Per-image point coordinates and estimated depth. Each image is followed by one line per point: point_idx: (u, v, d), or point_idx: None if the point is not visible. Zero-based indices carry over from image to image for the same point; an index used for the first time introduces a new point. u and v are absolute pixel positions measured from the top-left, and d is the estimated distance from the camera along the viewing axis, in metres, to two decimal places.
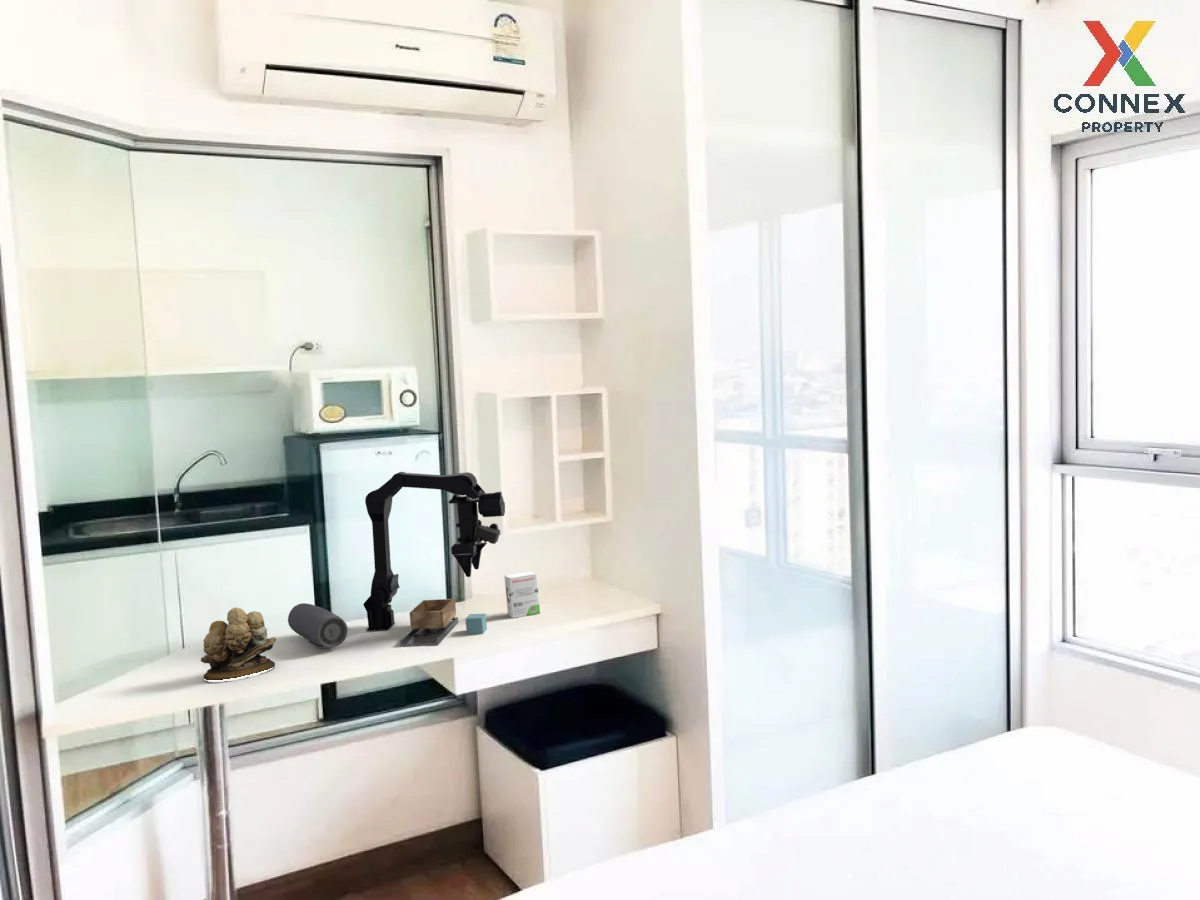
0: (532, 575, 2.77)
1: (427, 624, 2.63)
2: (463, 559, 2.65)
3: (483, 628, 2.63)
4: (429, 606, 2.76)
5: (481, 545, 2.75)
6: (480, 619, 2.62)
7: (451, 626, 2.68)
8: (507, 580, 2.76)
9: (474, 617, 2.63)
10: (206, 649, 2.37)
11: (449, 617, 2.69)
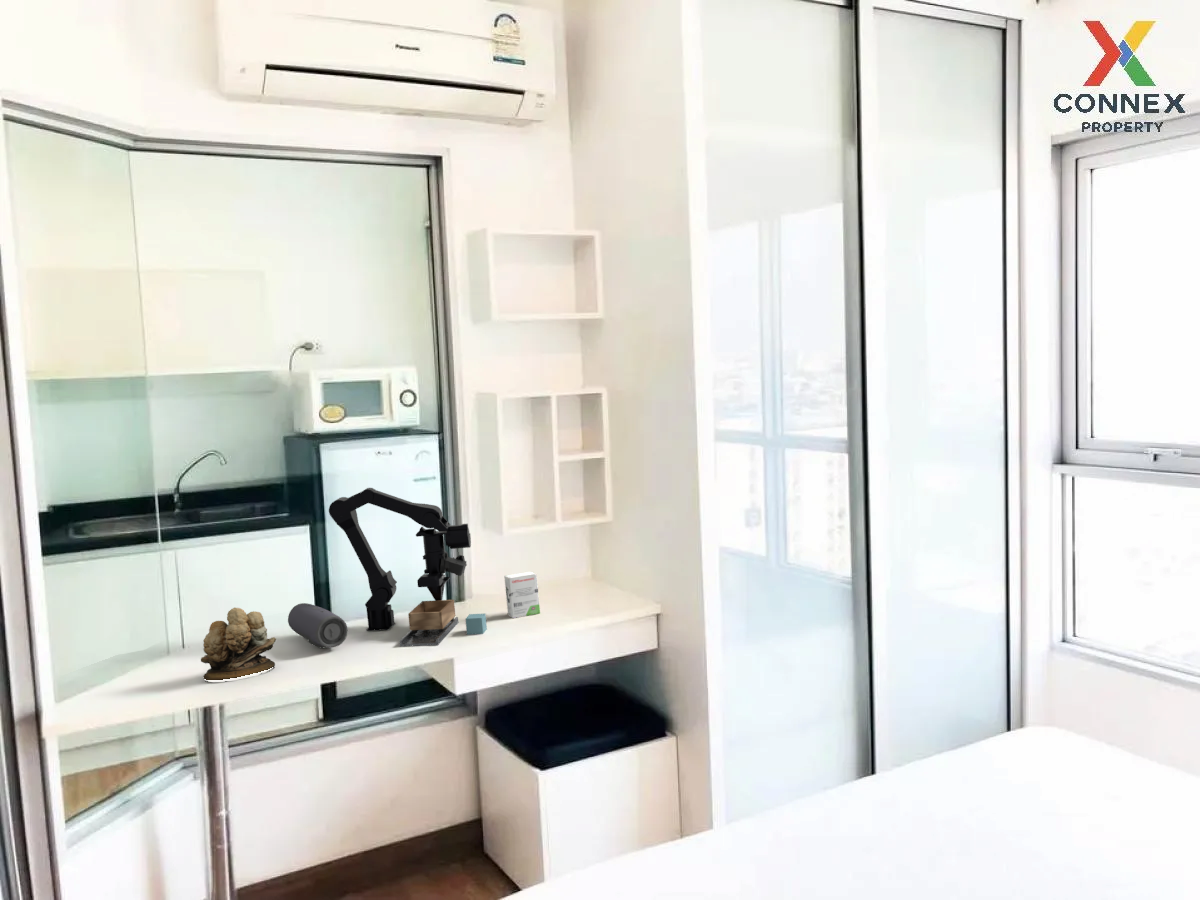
0: (532, 575, 2.77)
1: (426, 625, 2.62)
2: (434, 587, 2.74)
3: (483, 628, 2.63)
4: (428, 607, 2.75)
5: (444, 580, 2.76)
6: (480, 619, 2.62)
7: (451, 626, 2.68)
8: (507, 580, 2.76)
9: (474, 617, 2.63)
10: (206, 649, 2.37)
11: (448, 618, 2.68)
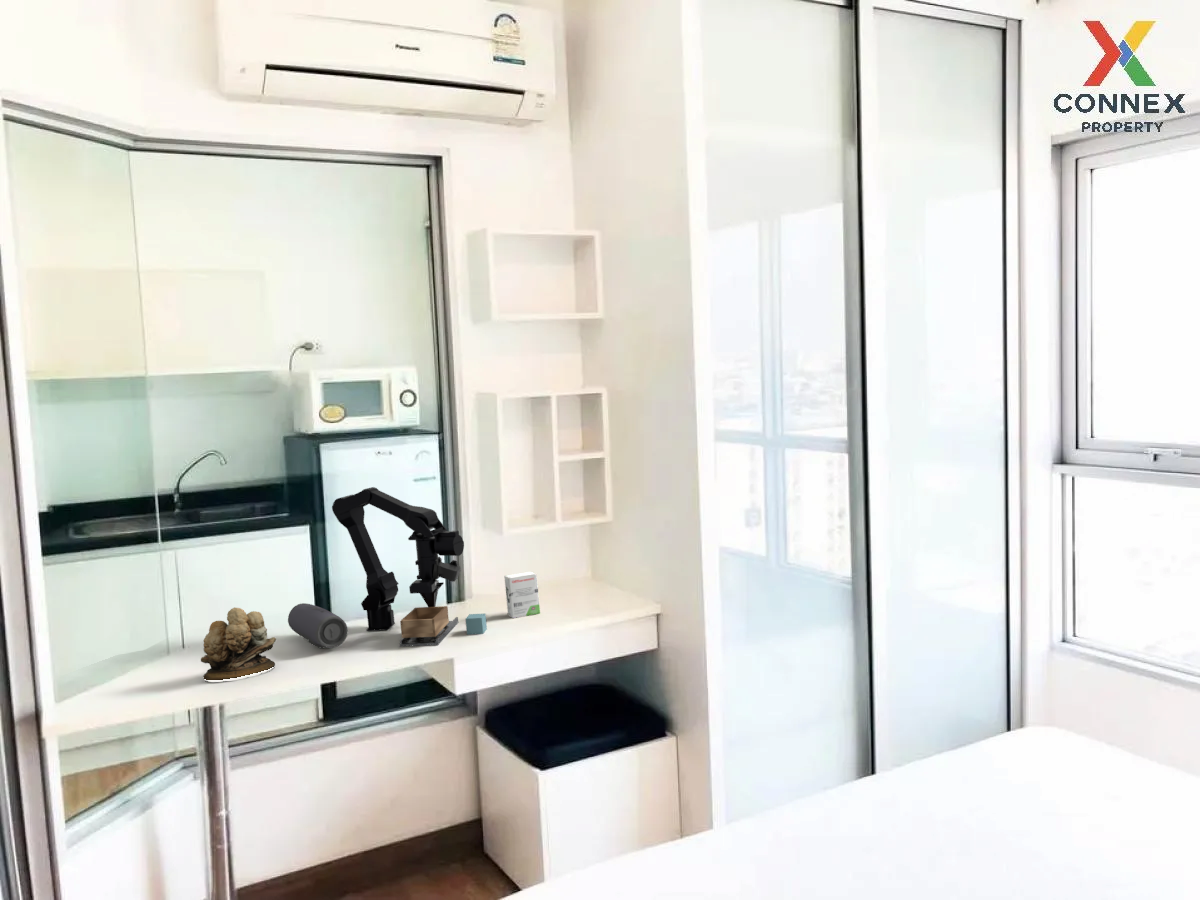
0: (532, 575, 2.77)
1: (418, 633, 2.55)
2: (427, 593, 2.67)
3: (483, 628, 2.63)
4: (421, 613, 2.68)
5: (437, 586, 2.69)
6: (480, 619, 2.62)
7: (451, 626, 2.68)
8: (507, 580, 2.76)
9: (474, 617, 2.63)
10: (206, 649, 2.37)
11: (441, 625, 2.61)
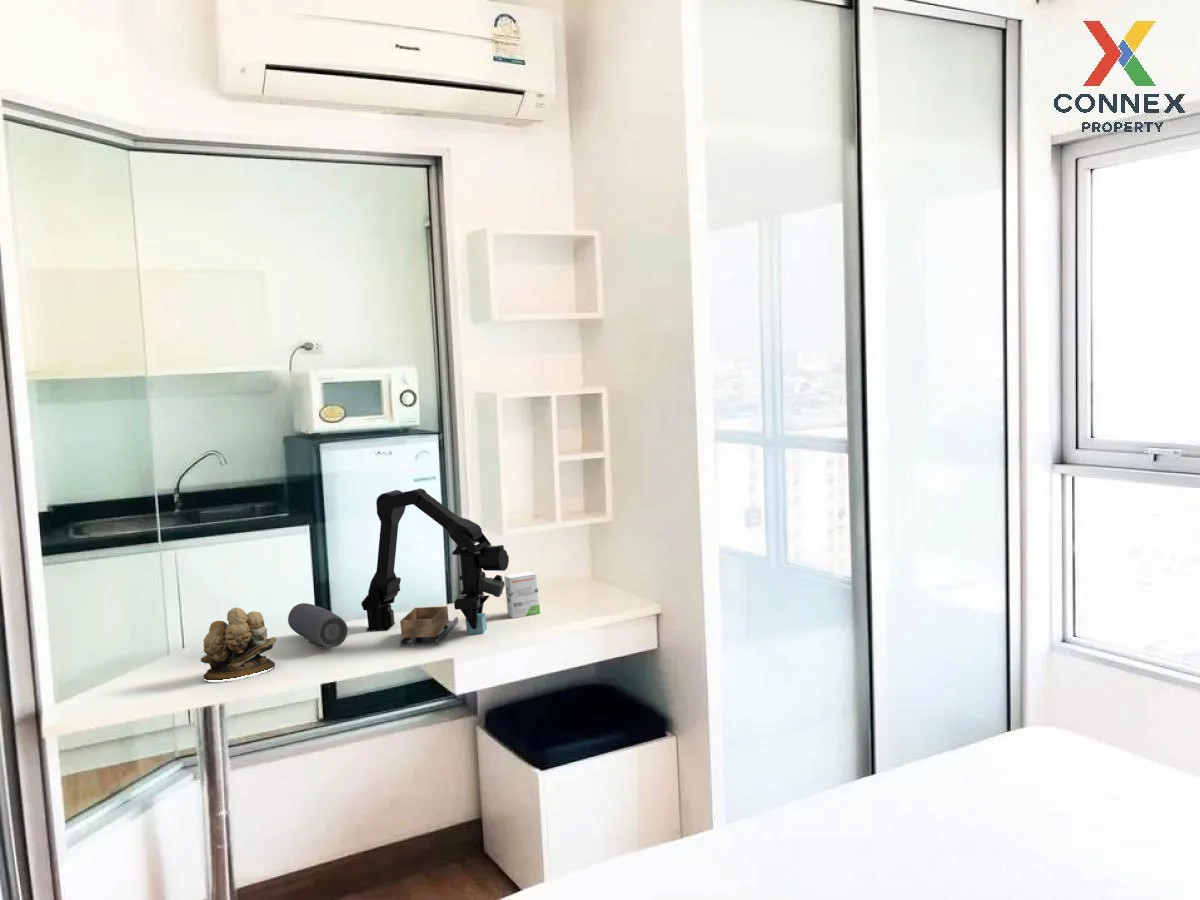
0: (532, 575, 2.77)
1: (418, 633, 2.55)
2: (469, 611, 2.60)
3: (483, 628, 2.63)
4: (421, 613, 2.68)
5: (483, 599, 2.66)
6: (480, 619, 2.62)
7: (451, 626, 2.68)
8: (507, 580, 2.76)
9: None
10: (206, 649, 2.37)
11: (441, 625, 2.61)
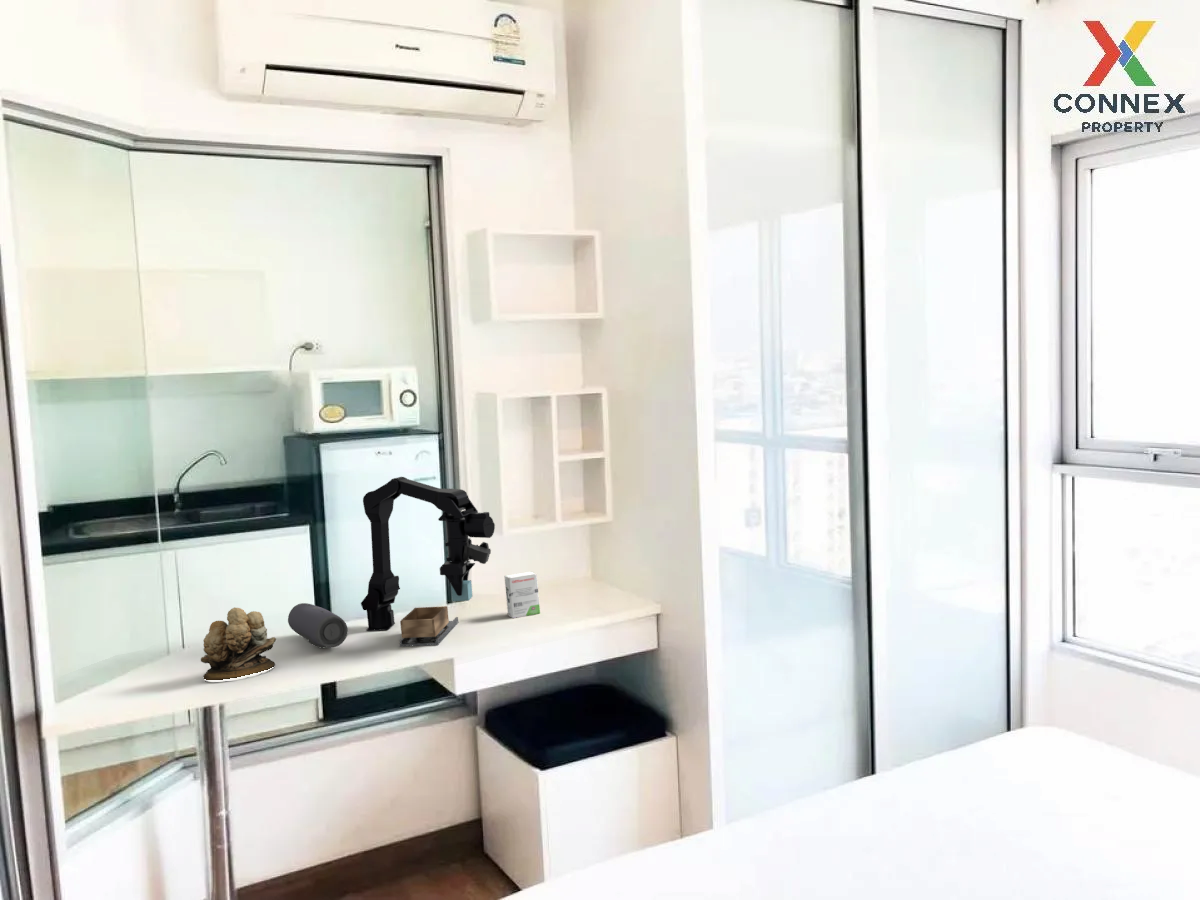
0: (532, 575, 2.77)
1: (418, 633, 2.55)
2: (454, 577, 2.59)
3: (469, 595, 2.61)
4: (421, 613, 2.68)
5: (469, 566, 2.65)
6: (466, 585, 2.60)
7: (451, 626, 2.68)
8: (507, 580, 2.76)
9: None
10: (206, 649, 2.37)
11: (441, 625, 2.61)
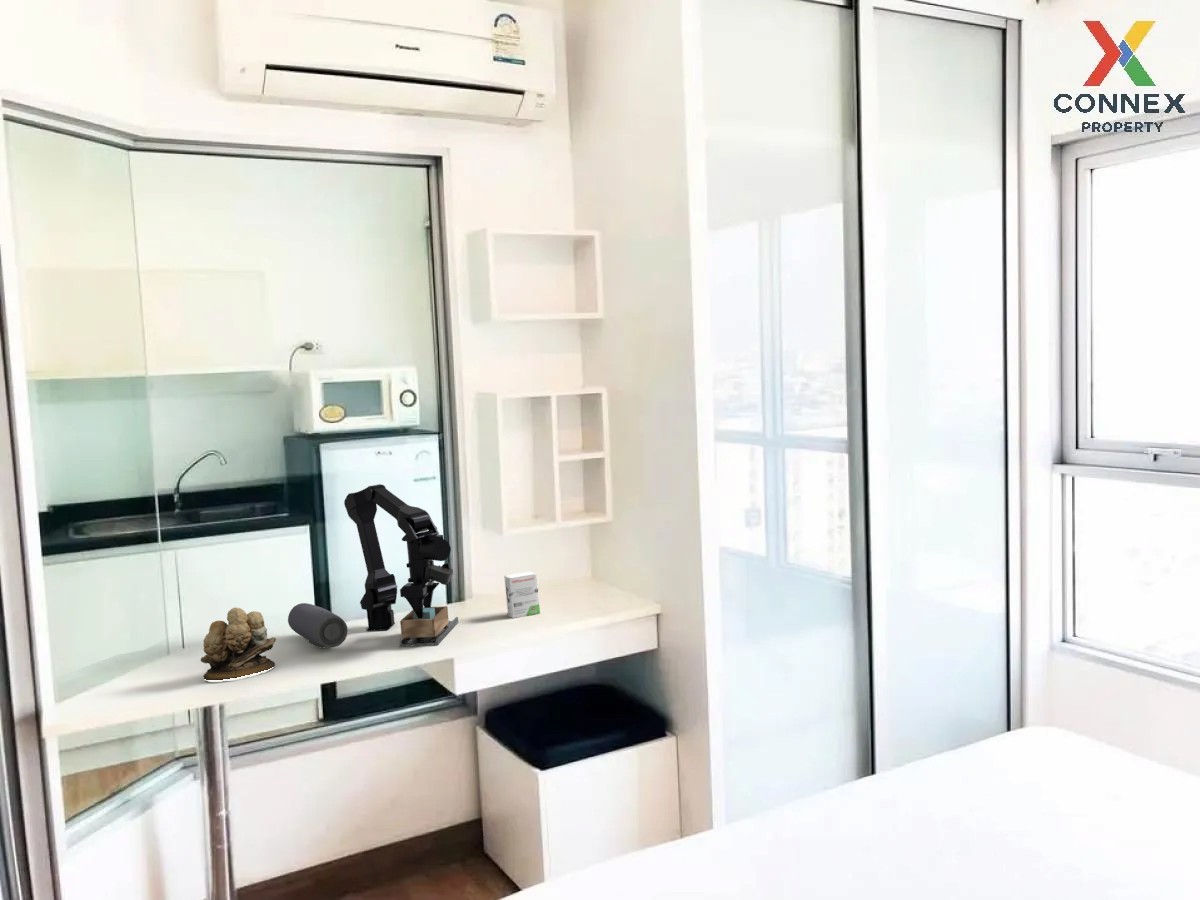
0: (532, 575, 2.77)
1: (418, 633, 2.55)
2: (414, 600, 2.56)
3: None
4: None
5: (433, 586, 2.65)
6: (428, 613, 2.59)
7: (451, 626, 2.68)
8: (507, 580, 2.76)
9: None
10: (206, 649, 2.37)
11: (441, 625, 2.61)
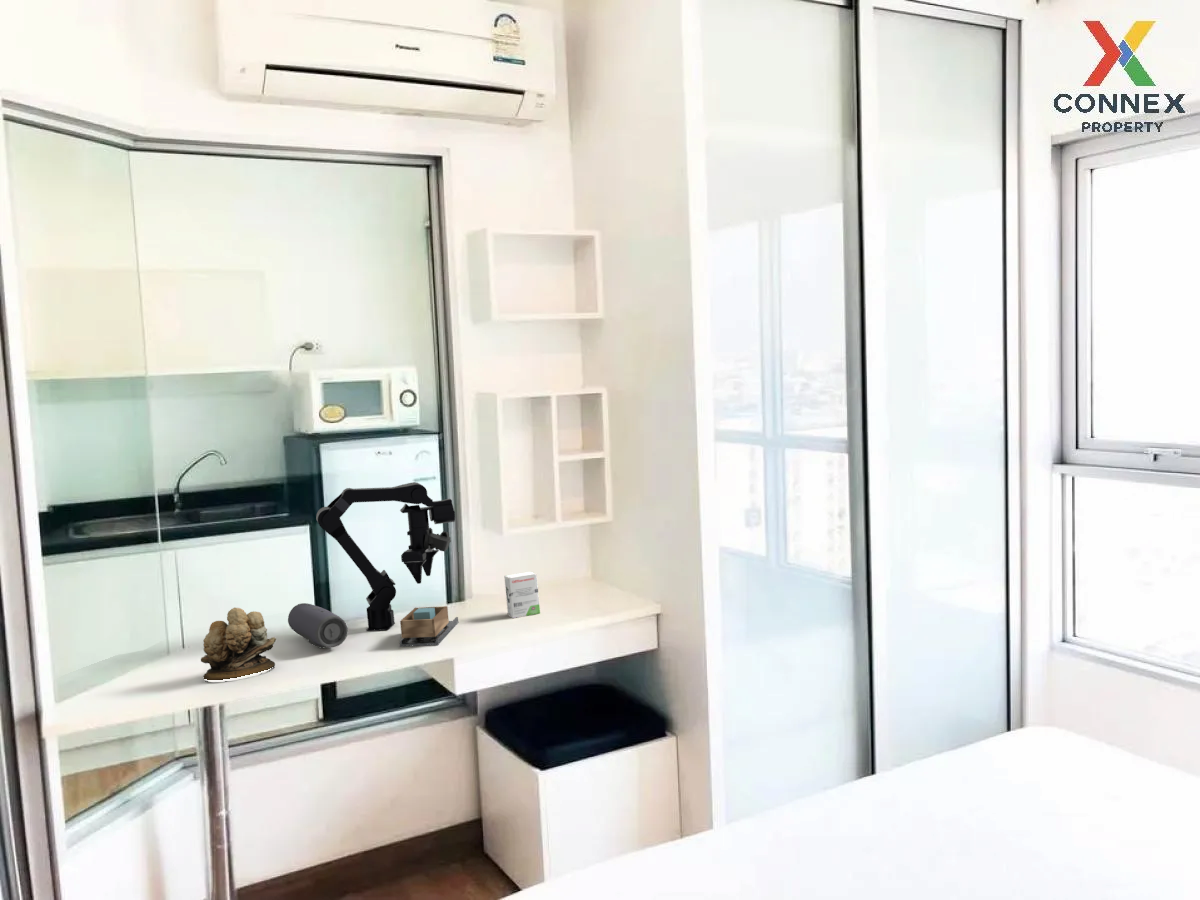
0: (532, 575, 2.77)
1: (418, 633, 2.55)
2: (413, 566, 2.73)
3: None
4: None
5: (433, 552, 2.83)
6: (428, 613, 2.59)
7: (451, 626, 2.68)
8: (507, 580, 2.76)
9: (422, 611, 2.60)
10: (206, 649, 2.37)
11: (441, 625, 2.61)
